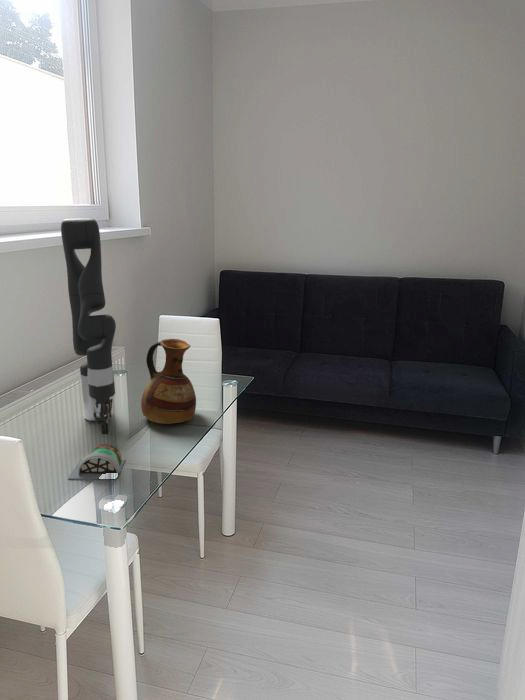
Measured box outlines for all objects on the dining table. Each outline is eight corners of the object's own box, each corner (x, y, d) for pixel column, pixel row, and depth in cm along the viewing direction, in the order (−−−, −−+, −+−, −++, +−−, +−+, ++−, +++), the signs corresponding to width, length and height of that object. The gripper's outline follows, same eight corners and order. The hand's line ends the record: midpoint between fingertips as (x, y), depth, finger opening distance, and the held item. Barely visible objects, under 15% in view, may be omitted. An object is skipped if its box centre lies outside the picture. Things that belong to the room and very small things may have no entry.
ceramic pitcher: (186, 432, 183) (183, 350, 175) (132, 427, 187) (127, 346, 179) (203, 410, 202) (202, 335, 193) (154, 406, 206) (150, 332, 197)
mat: (80, 460, 164) (79, 459, 163) (125, 460, 164) (125, 459, 164) (68, 479, 153) (67, 478, 153) (116, 479, 153) (116, 478, 153)
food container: (125, 440, 163) (117, 455, 153) (126, 458, 165) (119, 474, 155) (84, 440, 162) (75, 456, 153) (86, 458, 164) (76, 475, 155)
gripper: (94, 373, 164) (99, 424, 169) (81, 388, 151) (86, 443, 156) (119, 373, 164) (122, 424, 169) (108, 388, 151) (112, 443, 156)
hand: (105, 433), depth 163 cm, fingers closed
